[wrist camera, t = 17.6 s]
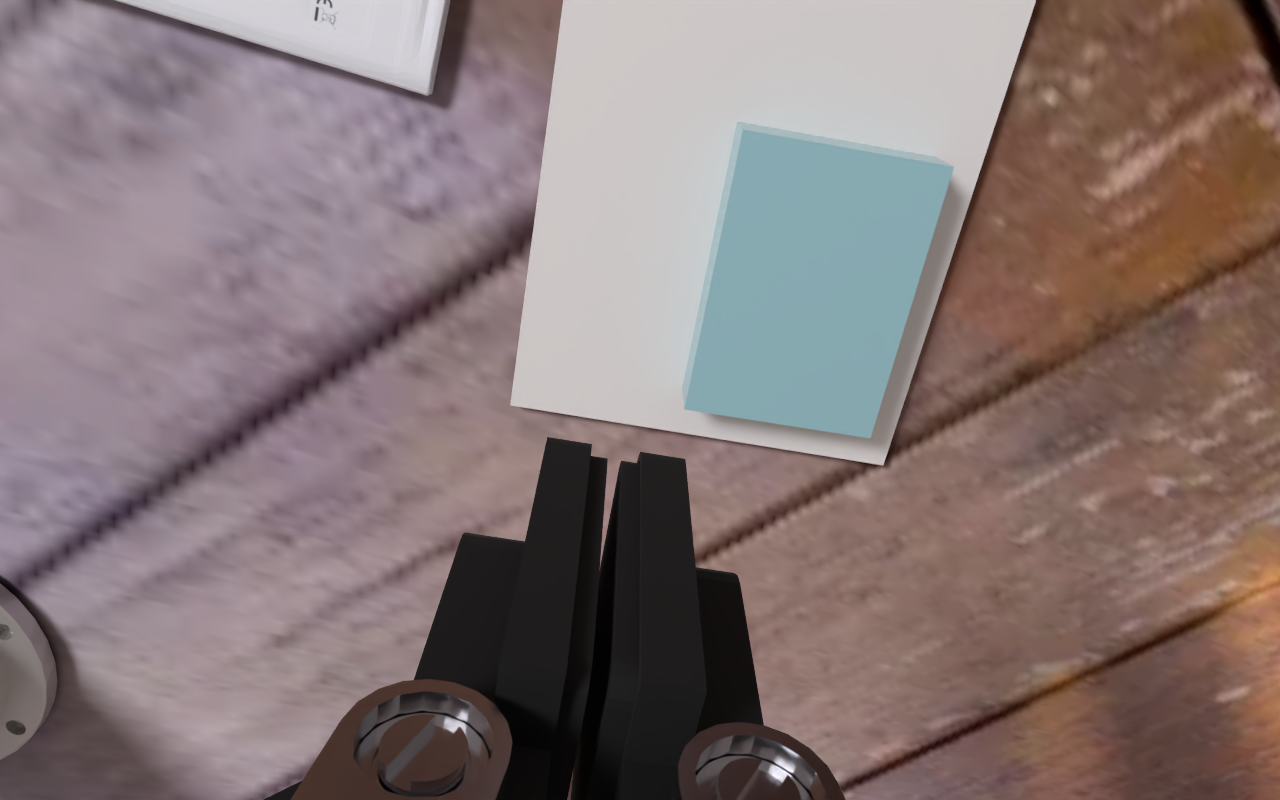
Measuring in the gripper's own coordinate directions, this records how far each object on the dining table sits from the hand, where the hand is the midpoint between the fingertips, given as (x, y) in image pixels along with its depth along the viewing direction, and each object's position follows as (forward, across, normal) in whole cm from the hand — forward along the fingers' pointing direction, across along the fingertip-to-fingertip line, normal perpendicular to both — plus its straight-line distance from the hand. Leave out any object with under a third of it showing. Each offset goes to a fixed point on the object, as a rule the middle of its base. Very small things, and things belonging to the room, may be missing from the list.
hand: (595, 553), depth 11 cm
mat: (+23, -4, 0) cm, 24 cm away
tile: (+22, -3, +2) cm, 22 cm away
